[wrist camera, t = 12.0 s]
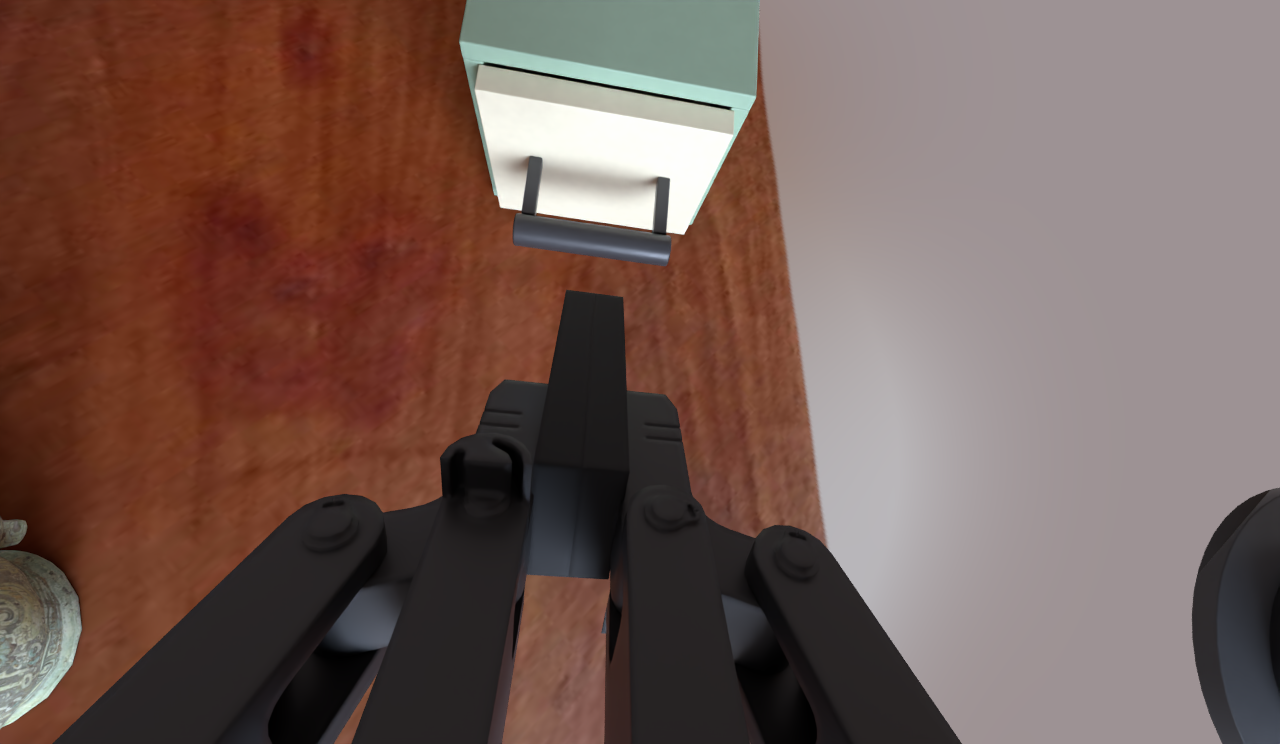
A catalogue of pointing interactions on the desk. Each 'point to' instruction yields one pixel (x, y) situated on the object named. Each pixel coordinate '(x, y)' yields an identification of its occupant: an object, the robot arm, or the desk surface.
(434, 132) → the desk surface
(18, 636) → the vessel
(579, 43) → the cabinet
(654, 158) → the drawer
